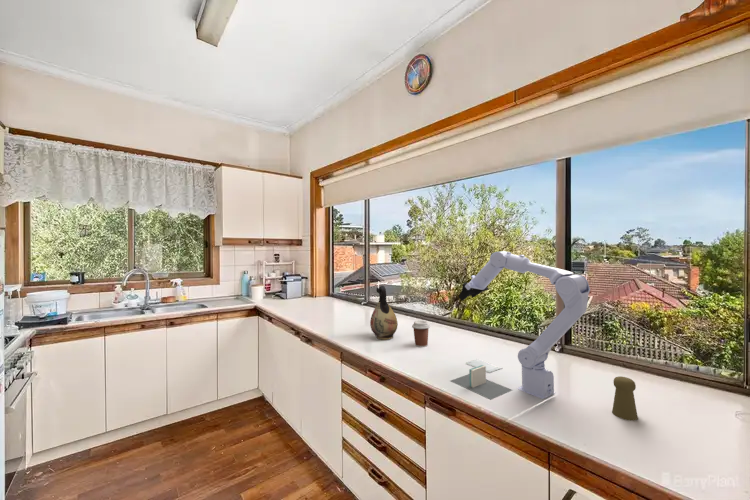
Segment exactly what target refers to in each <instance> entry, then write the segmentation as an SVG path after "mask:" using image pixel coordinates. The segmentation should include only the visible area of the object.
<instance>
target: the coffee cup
mask: <svg viewBox="0 0 750 500" xmlns="http://www.w3.org/2000/svg"><path fill="white" fill-rule="evenodd" d="M430 327H431V326H430V324H429V323H428V321H426V320H415V321H414V322H413V324H412V327H411V328H412V329H413V338H414V346H415V347H418V348H426V347H428V346H429V345H428V342H429V329H430Z"/></svg>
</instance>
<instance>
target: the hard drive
mask: <svg viewBox="0 0 750 500" xmlns="http://www.w3.org/2000/svg"><path fill="white" fill-rule="evenodd" d="M465 365H468V366H470V367H473V368H475V367H478V366H481V365H483V366H486V373H488V374H491V373H493V372H497V371H500V370H502V369H503V367H501V366H498V365H495V364H492V363H489V362H487V361H485V360H482V359H479V358H476V359H474V360H470V361H468V362H465Z"/></svg>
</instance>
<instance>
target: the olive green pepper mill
mask: <svg viewBox="0 0 750 500" xmlns="http://www.w3.org/2000/svg"><path fill="white" fill-rule="evenodd" d="M613 386H614V388H615V392H614V396H613V397H614V398H613V404H612V411H611V412H612V415H614V416H615V417H617V418H619V419H622V420H626V421H631V422H632V421H634V422H635V421H637V420H638V419H639V417H638V413H637V412H638V411H637V406H636V399H635V395H634V391H636V388H637V387H636V382H635V381H634V380H633V379H632V378H630V377H628V376H627V377H626V376H615V377H614V378H613Z"/></svg>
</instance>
